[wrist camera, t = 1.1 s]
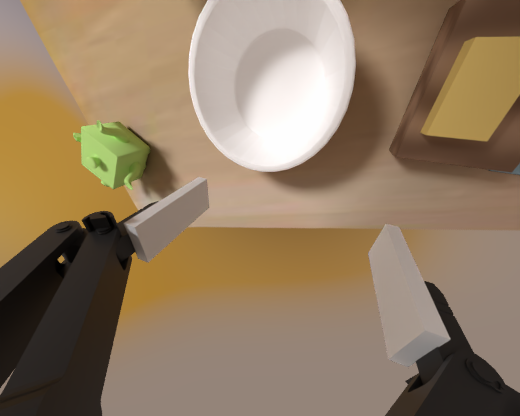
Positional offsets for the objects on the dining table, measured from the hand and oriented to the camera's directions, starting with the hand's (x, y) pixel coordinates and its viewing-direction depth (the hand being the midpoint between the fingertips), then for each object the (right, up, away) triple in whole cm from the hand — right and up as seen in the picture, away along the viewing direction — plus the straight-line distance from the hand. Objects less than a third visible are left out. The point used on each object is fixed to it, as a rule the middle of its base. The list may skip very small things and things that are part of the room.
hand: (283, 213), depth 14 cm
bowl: (+1, +20, +17) cm, 27 cm away
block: (+22, +13, +7) cm, 27 cm away
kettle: (-33, +15, +35) cm, 51 cm away
